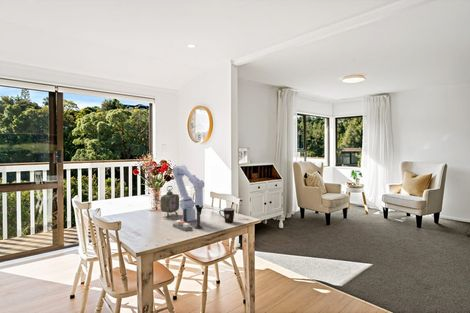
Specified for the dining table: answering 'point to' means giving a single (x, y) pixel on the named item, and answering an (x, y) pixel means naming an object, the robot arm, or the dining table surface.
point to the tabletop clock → (169, 202)
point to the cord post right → (198, 221)
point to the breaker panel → (182, 226)
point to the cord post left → (185, 216)
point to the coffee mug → (228, 214)
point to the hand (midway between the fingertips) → (199, 214)
